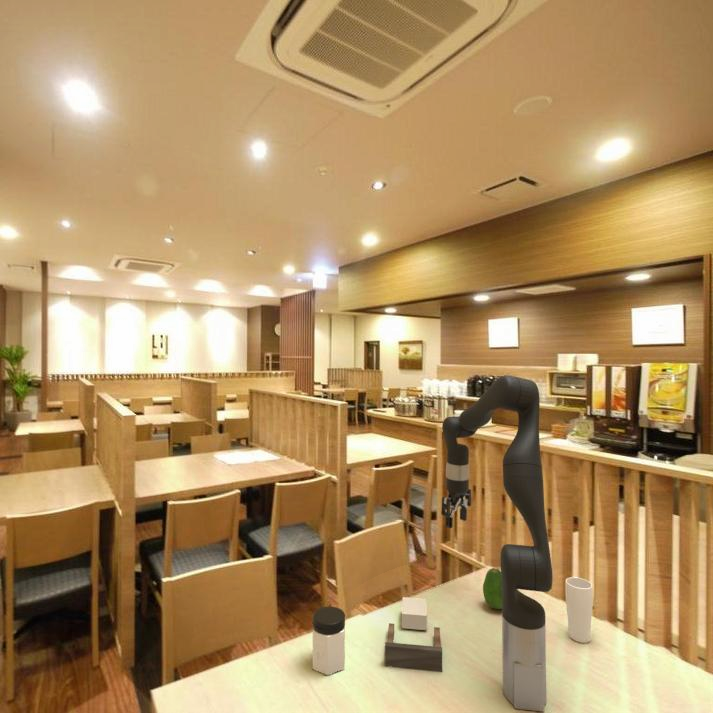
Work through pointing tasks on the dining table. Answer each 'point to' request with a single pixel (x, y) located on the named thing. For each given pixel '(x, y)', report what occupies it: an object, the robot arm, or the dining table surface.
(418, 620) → the white rectangular block
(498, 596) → the avocado
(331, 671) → the jar
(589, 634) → the drinking glass
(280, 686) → the dining table surface
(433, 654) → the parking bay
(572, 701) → the dining table surface
